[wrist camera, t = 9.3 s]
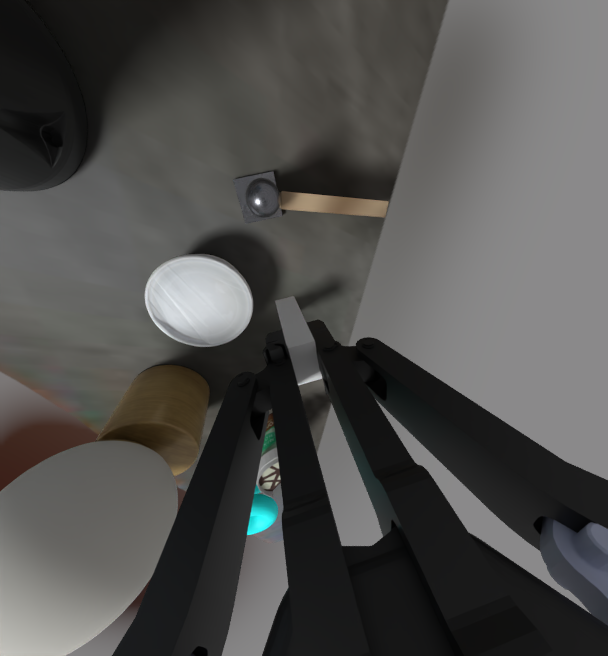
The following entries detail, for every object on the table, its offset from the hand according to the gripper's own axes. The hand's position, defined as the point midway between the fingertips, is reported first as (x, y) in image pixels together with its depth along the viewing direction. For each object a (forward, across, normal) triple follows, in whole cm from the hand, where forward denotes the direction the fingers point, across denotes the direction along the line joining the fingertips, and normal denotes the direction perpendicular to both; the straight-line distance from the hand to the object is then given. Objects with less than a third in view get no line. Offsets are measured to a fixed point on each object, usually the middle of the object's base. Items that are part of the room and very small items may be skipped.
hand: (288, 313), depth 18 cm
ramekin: (+15, -9, -1) cm, 17 cm away
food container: (+15, -8, -29) cm, 33 cm away
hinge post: (+14, 0, +8) cm, 16 cm away
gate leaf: (+14, +7, +6) cm, 17 cm away
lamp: (+15, -22, -14) cm, 30 cm away
